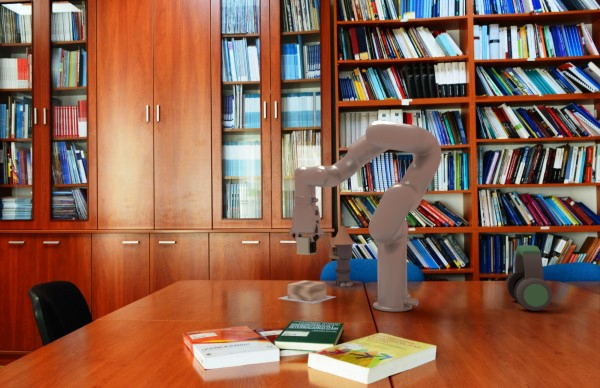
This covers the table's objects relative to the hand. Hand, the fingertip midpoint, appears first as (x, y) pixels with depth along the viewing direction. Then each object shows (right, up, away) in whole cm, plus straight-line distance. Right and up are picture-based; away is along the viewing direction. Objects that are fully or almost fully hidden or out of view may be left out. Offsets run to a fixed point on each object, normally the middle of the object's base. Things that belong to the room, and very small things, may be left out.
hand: (306, 252), depth 179 cm
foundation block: (0, -16, 0) cm, 16 cm away
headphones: (+73, -17, -14) cm, 76 cm away
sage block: (0, -1, 0) cm, 1 cm away
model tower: (+15, -17, +29) cm, 37 cm away
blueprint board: (0, -17, 0) cm, 17 cm away
